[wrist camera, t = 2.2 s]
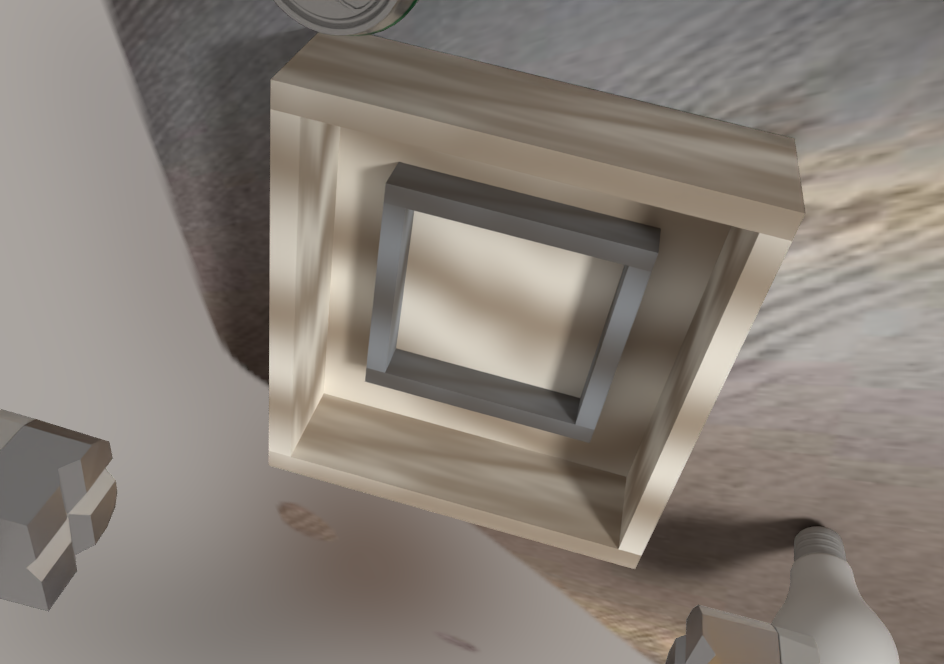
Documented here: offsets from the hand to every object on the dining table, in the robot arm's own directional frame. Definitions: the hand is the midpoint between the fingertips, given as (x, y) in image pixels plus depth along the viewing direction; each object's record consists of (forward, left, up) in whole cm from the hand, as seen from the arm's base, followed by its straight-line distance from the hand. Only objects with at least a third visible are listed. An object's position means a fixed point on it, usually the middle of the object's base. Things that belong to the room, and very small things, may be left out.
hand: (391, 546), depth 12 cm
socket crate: (+16, -1, -28) cm, 32 cm away
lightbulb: (+27, +19, -28) cm, 43 cm away
